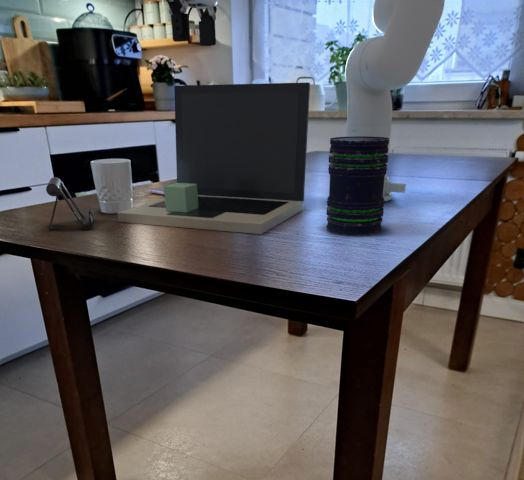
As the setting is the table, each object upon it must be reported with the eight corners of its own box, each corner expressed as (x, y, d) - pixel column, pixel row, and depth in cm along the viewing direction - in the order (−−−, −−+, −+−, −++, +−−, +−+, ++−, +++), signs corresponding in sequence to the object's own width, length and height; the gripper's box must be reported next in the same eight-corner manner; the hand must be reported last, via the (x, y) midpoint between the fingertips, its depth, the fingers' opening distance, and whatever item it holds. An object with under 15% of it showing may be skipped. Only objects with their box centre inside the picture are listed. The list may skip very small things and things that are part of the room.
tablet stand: (93, 229, 94) (85, 181, 90) (47, 233, 92) (37, 184, 88) (93, 219, 102) (86, 175, 98) (50, 222, 100) (42, 177, 96)
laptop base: (261, 234, 89) (261, 223, 88) (118, 221, 100) (117, 211, 99) (302, 210, 107) (302, 200, 106) (177, 201, 118) (176, 193, 117)
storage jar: (319, 233, 89) (322, 140, 82) (332, 221, 97) (336, 136, 91) (377, 237, 86) (385, 141, 79) (385, 224, 94) (394, 136, 88)
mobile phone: (170, 184, 133) (211, 190, 125) (170, 188, 134) (211, 194, 125) (147, 188, 128) (188, 194, 120) (147, 192, 129) (188, 199, 120)
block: (198, 208, 101) (197, 183, 99) (186, 212, 97) (184, 187, 95) (178, 206, 103) (176, 182, 101) (165, 211, 99) (163, 186, 97)
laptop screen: (308, 82, 99) (310, 83, 100) (173, 85, 109) (176, 86, 110) (302, 201, 106) (303, 201, 107) (177, 193, 117) (179, 193, 118)
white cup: (95, 209, 111) (88, 160, 107) (132, 205, 114) (126, 157, 110) (100, 215, 105) (92, 164, 100) (139, 212, 108) (133, 161, 103)
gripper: (181, -93, 79) (189, 38, 86) (230, -64, 93) (234, 45, 101) (139, -86, 81) (151, 40, 89) (194, -59, 96) (200, 47, 103)
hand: (195, 43), depth 95 cm, fingers open, 9 cm apart
